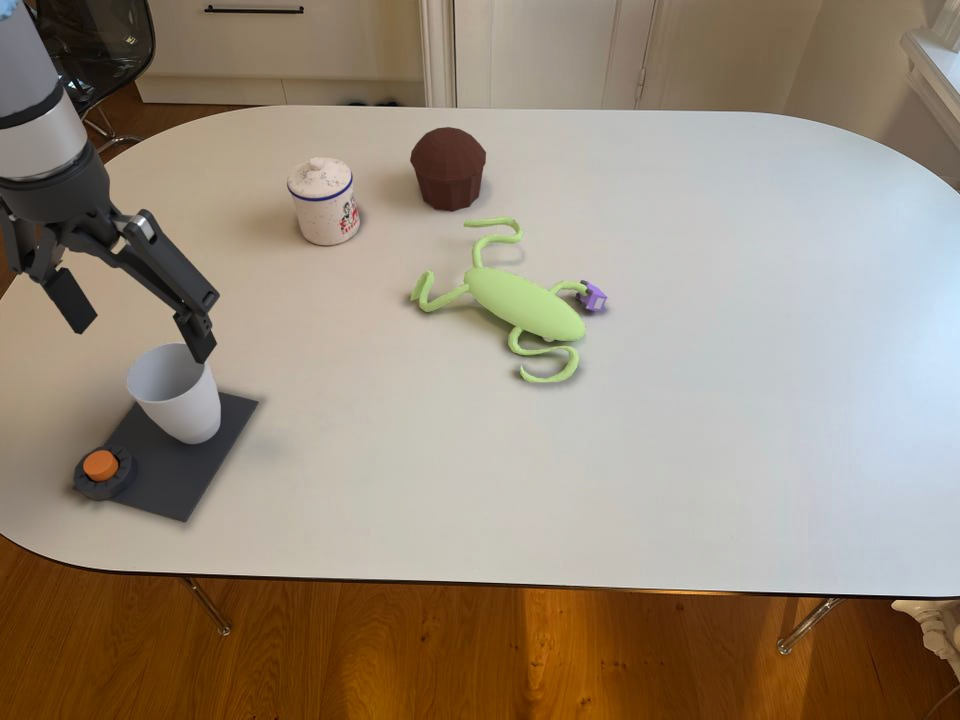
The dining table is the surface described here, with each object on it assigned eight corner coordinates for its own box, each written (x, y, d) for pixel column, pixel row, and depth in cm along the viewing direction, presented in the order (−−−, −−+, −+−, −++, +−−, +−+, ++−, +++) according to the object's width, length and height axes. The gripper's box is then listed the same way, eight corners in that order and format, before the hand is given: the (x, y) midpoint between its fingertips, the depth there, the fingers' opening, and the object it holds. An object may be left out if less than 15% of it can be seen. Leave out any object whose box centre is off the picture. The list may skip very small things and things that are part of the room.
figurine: (485, 229, 104) (485, 198, 99) (637, 316, 92) (644, 286, 88) (394, 296, 95) (389, 266, 91) (548, 402, 83) (551, 373, 79)
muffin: (498, 206, 107) (498, 148, 99) (430, 225, 104) (424, 168, 97) (469, 163, 114) (467, 107, 106) (404, 180, 112) (397, 124, 104)
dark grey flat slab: (74, 498, 77) (61, 484, 74) (159, 382, 87) (150, 367, 84) (187, 530, 74) (177, 517, 72) (261, 408, 84) (254, 392, 82)
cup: (174, 396, 83) (141, 341, 76) (242, 397, 83) (215, 342, 75) (152, 455, 78) (114, 402, 71) (224, 456, 78) (193, 403, 70)
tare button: (83, 477, 75) (76, 470, 74) (100, 454, 77) (94, 447, 76) (107, 484, 75) (101, 477, 73) (124, 461, 76) (118, 453, 75)
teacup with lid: (356, 248, 102) (343, 181, 93) (294, 247, 102) (274, 180, 93) (368, 196, 109) (356, 129, 100) (310, 195, 110) (293, 129, 101)
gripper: (211, 151, 53) (277, 337, 69) (-60, 102, 57) (62, 287, 74) (155, 213, 48) (240, 396, 65) (-135, 155, 53) (13, 339, 69)
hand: (145, 338), depth 69 cm, fingers open, 13 cm apart
